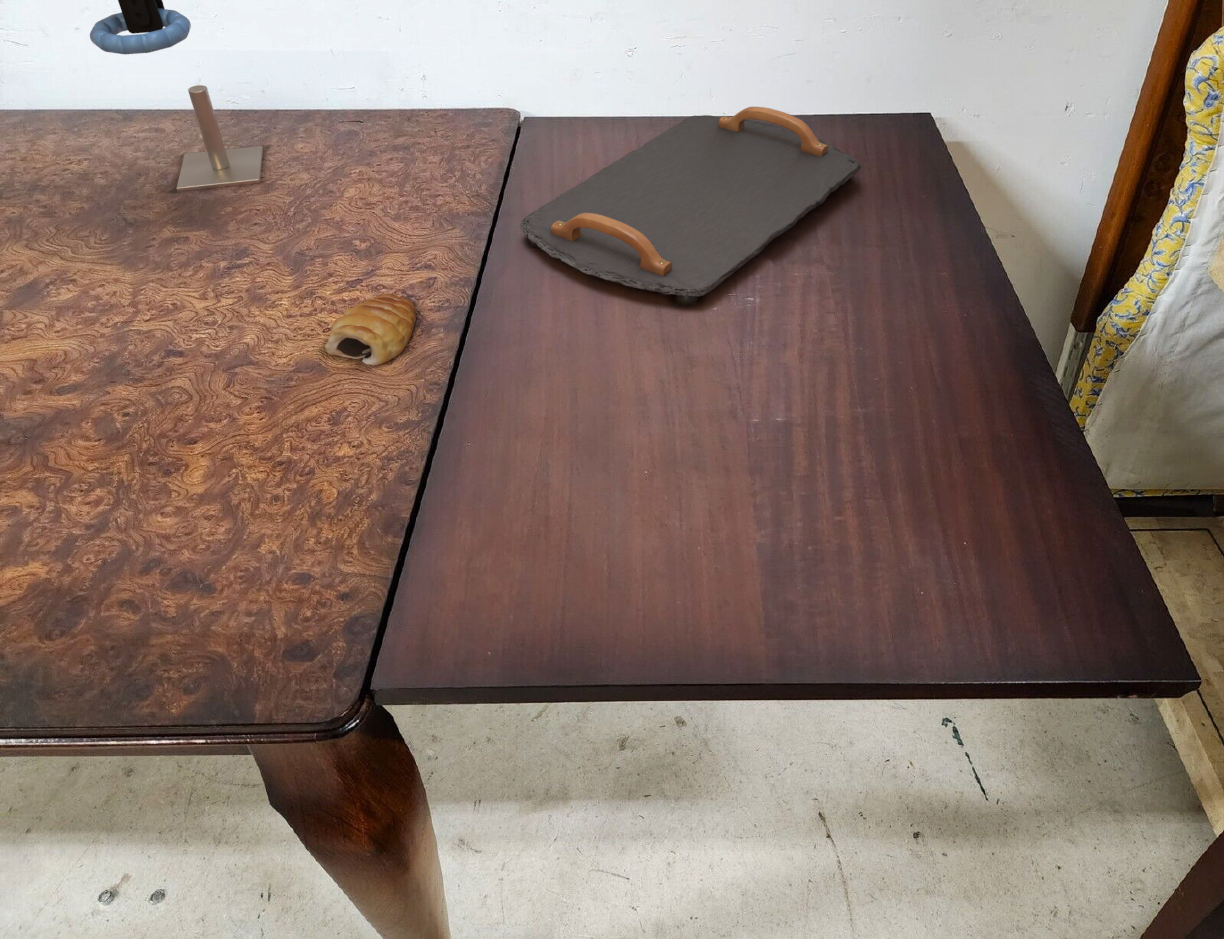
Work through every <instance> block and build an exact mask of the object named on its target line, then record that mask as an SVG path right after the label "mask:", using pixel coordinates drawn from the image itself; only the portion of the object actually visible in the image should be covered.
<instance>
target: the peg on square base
mask: <svg viewBox="0 0 1224 939" xmlns="http://www.w3.org/2000/svg"><path fill="white" fill-rule="evenodd" d="M187 91H188V96H189V99H190V102H191V104H192V108H193V111H194V115H195V117H196V121H197V124H198V128H199V130H200V134H201V137H202V140H203V143H204V147H205V150H206V151H197V152H196V151H195V152H189V153H184V155H183V158H182V163H181V168H180V171H179V176H178V180H177V183H176V192H177V193H179V192H187V191H196V190H206V189H215V188H217V189H218V188H225V187H233V186H234V187H235V186H244V185H245V186H246V185H254V184H260V183H261V177H262V166H263V157H264V147H263V145H257V146H247V147H236V148H229V149H228V148H227V149H226V147H225V144H224V140H223V136H222V133H221V129H220V126H219V123H218V120H217V117H216V112H215V110H214V106H213V103H212V99H211V96H210V94H209V89H208V87H207V86H206V85H203V84H202V85H201V84H199V85H193V86H191V87H189V88H188V89H187Z"/></svg>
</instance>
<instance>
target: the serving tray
mask: <svg viewBox="0 0 1224 939" xmlns="http://www.w3.org/2000/svg"><path fill="white" fill-rule="evenodd" d="M761 121H763V122H761ZM860 163H861V162H859V161H858V160H857V159H856V158H855V157H853V155H850V154H846V153H845V152H843V151H842V150H840V149H839V148H838V147H835V146H834V145H831V144H829V143H826V142H825V141H823V140H822V139H818V138H817V137H816V135H815V134H814V132H813V130H812V129H811V128H810V126H809V125H808V124H807V123H806V122H805V121H803V120H802V119H800V118H798V117H796V116H794V115H792V114H790V113H787V112H784V111H781V110H778V109H774V108H771V107H764V106H748V107H745V108H743V109H742V110H740V111H738V112H737V113H735V114H734V115H733V116H726V115H722V116H721V117H720V116H714V115H710V114H704V115H691V116H689V117H687V118H685V119H684V120H682V121H680V122H679V123H677V124H675V125H673V126H671V127H670V128H668V129H667V130H666V131H663V132H661V133H660V134H658V135H657V136H654V138H652V139H650V140H649V141H647V142H646V143H644V144H643V145H642V146H640V147H638V148H636V149H634V150H632V151H630V152H628V153H627V154H625V155H624V156H622V157H621V158H619V159H618V160H615V161H613V162H612V163H611V164H610V165H608V166H606V167H603V168H602V169H601V170H599V171H598V172H596V173H594V174H592V175H591V176H589V177H588V178H587V179H585V180H584V181H581V182H580V183H578V184H576V185H575V186H574V187H572V188H570V189H568V190H566V191H564V192H563V193H562V194H560V195H558V196H557V197H555V198H554V199H551V200H550V201H549V202H546V203H545V204H543V205H542V206H541V207H539V208H538V209H535V210H534V211H532V212H530V213H528V214H527V215H526V216H525V217H524V218H522V220H521V222H520V224H519V228H520V230H521V231H522V233H523V234H524V235H525V237H527V239H528V240H529V241H530V246H531V247H533V248H536V249H540V250H542V251H543V252H544V253H545V254H547V255H548V256H550V257H552V258H554V259H557V260H559V261H560V262H563V263H564V264H566V265H567V266H570V267H571V268H573V269H575V270H577V271H579V272H581V273H583V274H585V275H588V276H591V277H594V278H597V279H601V280H604V281H607V282H611V283H615V284H619V285H622V286H626V287H628V288H629V287H630V288H632V289H636V290H642V291H646V292H647V291H648V292H656V293H659V294H662V295H674V299H675V303H676V304H677V305H679V306H681V307H691V306H694V305H696V304H697V303H698V300H699V297H703V296H706V295H707V294H709V293H710V292H712V291H713V290H714V289H715V288H717V287H718V286H720V285H721V284H722V283H723V282H724V281H725V280H727V279H728V278H729V277H730V276H731V275H733V274H734V273H736V272H737V271H738V270H739V269H742V267H743V266H744V265H745V264H747V263H748V262H749V261H751V260H752V259H754V258H756V257H758V256H759V255H760V254H761V252H762V251H763V250H764V249H765V248H766V247H767V246H768V245H769V244H770V243H771V242H772V241H773V240H774V239H777V238H778V237H780V236H781V235H783V234H785V233H786V232H787V231H789V230H790V229H791V228H794V227H795V225H796V224H797V223H798V221H800V220H801V219H803V218H805V216H806V215H807V214H808V213H809V212H811V211H812V210H814V209H816V208H817V207H818V206H820V205H822V204H823V203H824V202H825V201H826V200H827V198H828V197H829V196H830V194H831V193H833V192H836V191H837V190H838V188H841V187H844V186H845V184H846V183H847V182H848V181H849V180H850V179H851V178H853V177H854V176H855V175H856V174H857V173H859V171H860V170H861V169H862V165H861V164H860Z"/></svg>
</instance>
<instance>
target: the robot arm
mask: <svg viewBox="0 0 1224 939" xmlns="http://www.w3.org/2000/svg"><path fill="white" fill-rule="evenodd" d="M117 2H118V6H119V8H120V11H121V12H122V14H123V17H124V20H125V23H126V26H127V29H128V30H127V31H128V33H130V34H131V35H136V34H145V33H149V32H153V31H157V30H161V29H163V28H164V27H163V23H162V20H161V17H160V14H159V11H158V8H160V9H166V8H165V5H164V2H163V0H117Z"/></svg>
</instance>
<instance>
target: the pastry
mask: <svg viewBox="0 0 1224 939" xmlns="http://www.w3.org/2000/svg"><path fill="white" fill-rule="evenodd" d="M416 312H417V310H416V307H415V305H414V303H413V302H412V301H411V300H410V299H408V298H405V297H402V296H398V295H397V294H394V293H384V294H380V295H378V296H376V297H373V298H367V299H366V300H365V301H364V302H363V301H362V302H357V303H355V304H354V306H353V307H352V306H351V307H348V308H346V309H345V310H344V312H343V316H341V317H337V318H336V319H335V320H334V321H333V323H332V325H331V327H330V334H329V336H328V340H327V342H326V343H325V345H324V349H325V352H326V353H327V354H328V355H329V356H338V357H342V358H350V359H354V360H355V359H356V360H357V359H362V363H363V364H365V365H367V366H368V365H369V366H378V365H382V364H385V363H387V362H390V361H391V360H393V359H394V358H396V357H397V356H398V355H400V354H401V353H403V351H404V350H405V348H406V346H407V345H408V343H409V341H410V339H411V337H412V334H413V330H414V328H415V324H416V321H417V315H416Z"/></svg>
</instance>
